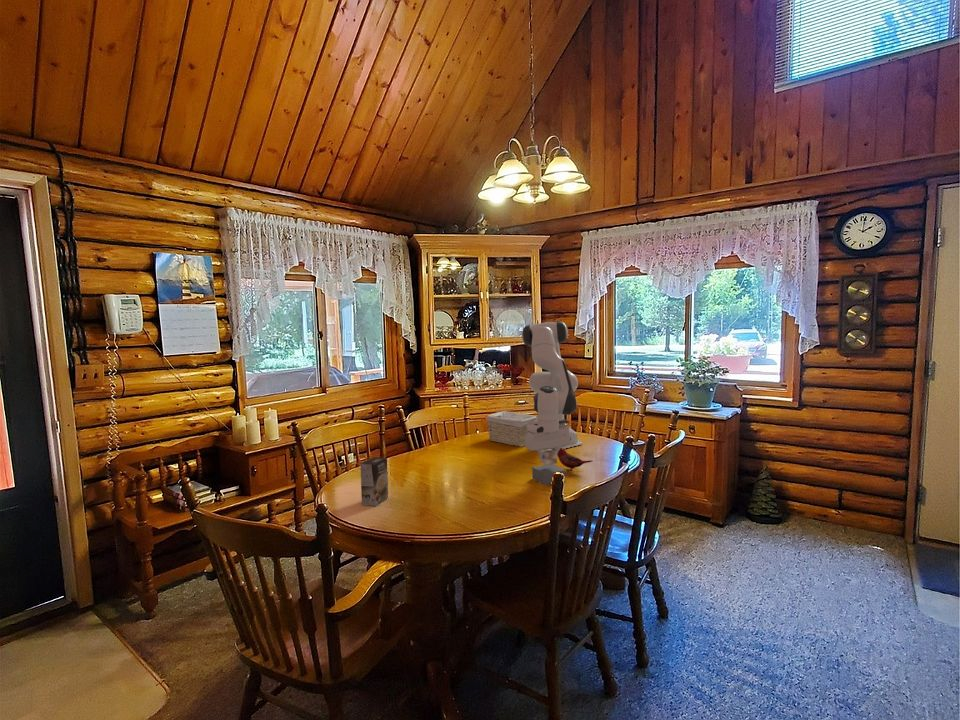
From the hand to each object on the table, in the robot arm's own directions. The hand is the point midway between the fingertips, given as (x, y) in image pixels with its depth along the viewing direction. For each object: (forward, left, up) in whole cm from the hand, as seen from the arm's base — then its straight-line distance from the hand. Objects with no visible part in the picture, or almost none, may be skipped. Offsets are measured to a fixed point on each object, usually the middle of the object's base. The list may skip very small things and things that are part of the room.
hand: (548, 458), depth 213 cm
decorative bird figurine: (-16, -4, -10) cm, 19 cm away
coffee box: (+71, -11, -10) cm, 72 cm away
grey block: (0, 0, -10) cm, 10 cm away
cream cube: (0, 0, -2) cm, 2 cm away
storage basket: (-17, -63, -10) cm, 66 cm away
